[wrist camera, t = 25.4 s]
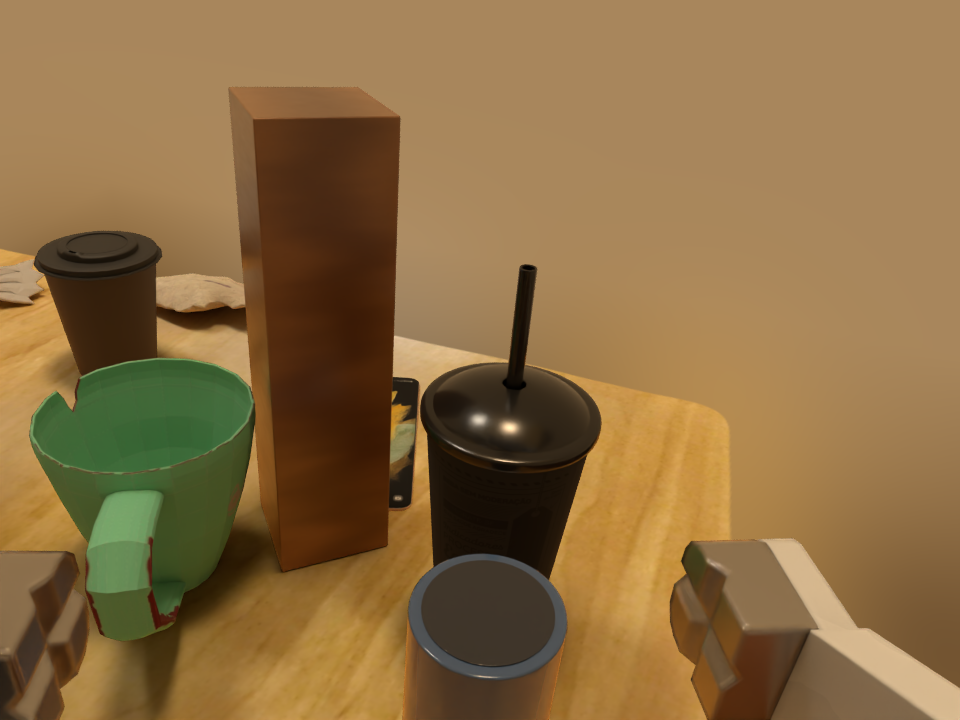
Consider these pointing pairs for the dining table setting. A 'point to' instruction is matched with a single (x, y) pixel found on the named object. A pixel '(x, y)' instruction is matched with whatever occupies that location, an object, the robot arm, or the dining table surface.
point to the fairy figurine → (19, 282)
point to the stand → (319, 310)
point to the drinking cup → (506, 452)
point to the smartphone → (403, 442)
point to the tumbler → (483, 641)
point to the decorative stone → (198, 293)
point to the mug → (148, 481)
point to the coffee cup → (104, 295)
